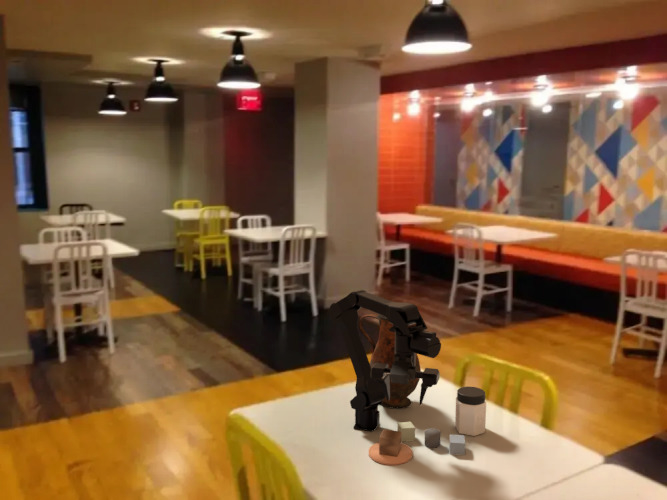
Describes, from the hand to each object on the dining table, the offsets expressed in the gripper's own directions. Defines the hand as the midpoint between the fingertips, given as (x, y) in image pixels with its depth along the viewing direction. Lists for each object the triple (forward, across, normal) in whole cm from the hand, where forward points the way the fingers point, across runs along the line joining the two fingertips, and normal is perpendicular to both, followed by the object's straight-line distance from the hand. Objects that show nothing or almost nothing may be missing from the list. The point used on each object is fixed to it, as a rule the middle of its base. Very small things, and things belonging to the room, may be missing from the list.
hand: (404, 402), depth 177 cm
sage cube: (+12, 0, +3) cm, 12 cm away
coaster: (+12, -2, -8) cm, 15 cm away
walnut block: (+11, -2, -8) cm, 14 cm away
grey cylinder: (+12, +8, +1) cm, 15 cm away
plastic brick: (+12, +15, 0) cm, 19 cm away
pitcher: (+12, -11, +27) cm, 32 cm away
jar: (+12, +17, +14) cm, 25 cm away
